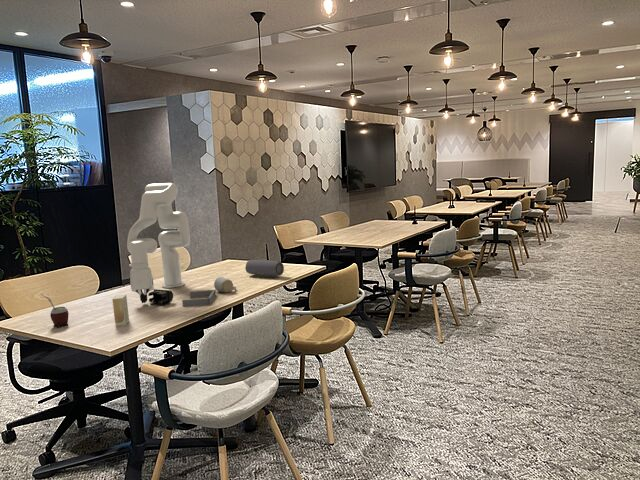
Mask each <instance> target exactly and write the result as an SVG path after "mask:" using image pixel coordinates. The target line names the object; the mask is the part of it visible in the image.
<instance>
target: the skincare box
mask: <svg viewBox="0 0 640 480" xmlns="http://www.w3.org/2000/svg"><path fill="white" fill-rule="evenodd" d="M112 307H113V308H112V309H113V314H114V324H115V327H119V326H120V327H121V326H123V327H124V326H126V325H128V323H130V317H129V306H128V298H127V294H119V295H118V294H117V295H115V296H114V297H113V298H112Z"/></svg>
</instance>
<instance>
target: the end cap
mask: <svg viewBox="0 0 640 480" xmlns="http://www.w3.org/2000/svg"><path fill="white" fill-rule="evenodd" d="M147 296H148V297H149V298H148V302H149V304H150V305H151V306H160V307H161V306H162V307H163V306H167V305H169V304H171V303H172V301H173V299H174V293H173V291H172V290H170V289H169V290H168V289H158V288H154V290H152V291H149V292H148V293H147ZM151 296H152V297H151ZM150 297H151V298H150Z"/></svg>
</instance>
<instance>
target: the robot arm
mask: <svg viewBox="0 0 640 480" xmlns="http://www.w3.org/2000/svg"><path fill="white" fill-rule="evenodd" d="M178 194H179V189H178V185H177V184H175V183H174V182H163V183H161V182H160V183H150V184H147V185H146V186H144V193H142V195H141V203H140V209H139V218H138V220H136V221H135V222H134V224H133V225H132V226H131V227H130V229H129V231H128V233H127V242H126V244H127V245H126V247H127V252H129V254H130V257H131V259H130V260H131V263H130V264H129V265H128V266H129V267H130V268H131V269H130V272H129V275H130V279H129V280H130V282H129V283H130V289H131V292H134V293H135V292H136V293H137V294H138V295H139V300H140V301H141V304H145V303H147V301H148V293H150V292H152V291H154V289H155V287H154V277H153V274H152V269H151V267H149V257H148V254H153V253H155V252H156V250H158V249H157V248H158V244H159V247H160V252H161V261H162V272H163V280H164V283H162V284H161V287H162V288H165V289H167V288H168V289H174V288H178V287H183V286H184V285H185V283H186V282H185V281H183V280H182V279H183V278H182V273H181V272H182V270H181V269H182V268H181V261H180V253H179V252H178V250H177V249H176V248H185V247H188V246H190V244H191V234H190V226H189V220H188V216H187V215H186V213H185V212H184V211H180V210H179V211H174V210H173V205H172V203H174V201H175V200H176V199H177V196H178ZM157 221H158V226H159V229H163V231H162V232H160V233H159V234H158V237H157V239H158V243H157V240H155V239H154V238H151V237H150V238H149V237H147V238H144V237H143V238H138V235H139V233H140V232H141V231H143V230H145V229H146V228H148V227H150V226H152V225H154V224H155V223H156V222H157ZM174 229H175V230H174ZM176 229H177V230H176ZM164 230H165V231H164Z"/></svg>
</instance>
